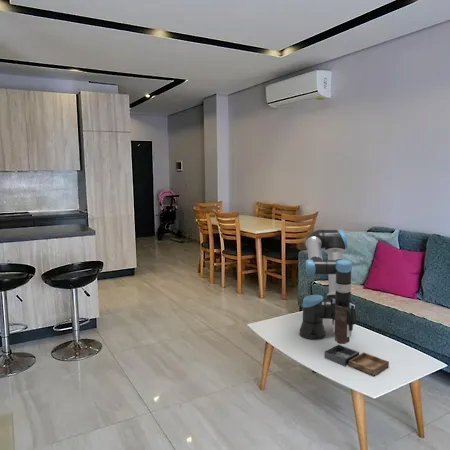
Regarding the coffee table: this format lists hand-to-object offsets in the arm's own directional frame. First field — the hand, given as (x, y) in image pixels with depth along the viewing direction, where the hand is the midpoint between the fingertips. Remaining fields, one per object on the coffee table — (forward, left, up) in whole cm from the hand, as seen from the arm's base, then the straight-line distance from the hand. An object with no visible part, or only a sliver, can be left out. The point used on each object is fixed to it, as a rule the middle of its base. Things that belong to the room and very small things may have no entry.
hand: (342, 333), depth 205 cm
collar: (0, 0, -13) cm, 13 cm away
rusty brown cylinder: (0, 0, -4) cm, 4 cm away
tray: (+14, +2, -13) cm, 19 cm away
